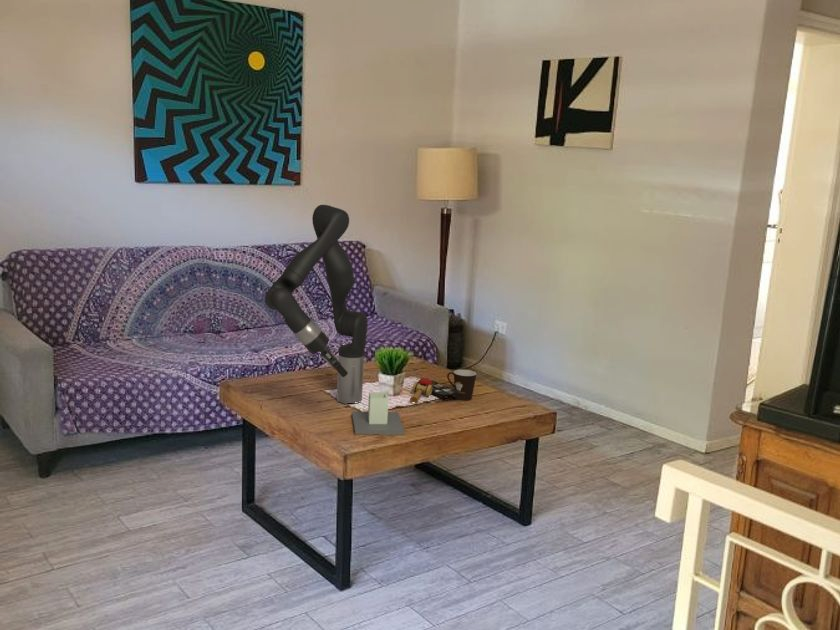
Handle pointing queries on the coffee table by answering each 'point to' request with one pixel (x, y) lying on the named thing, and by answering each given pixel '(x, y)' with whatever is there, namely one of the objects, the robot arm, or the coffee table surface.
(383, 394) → the collar
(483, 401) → the coffee table surface
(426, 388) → the kendama
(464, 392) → the coffee mug
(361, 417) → the hub stand
